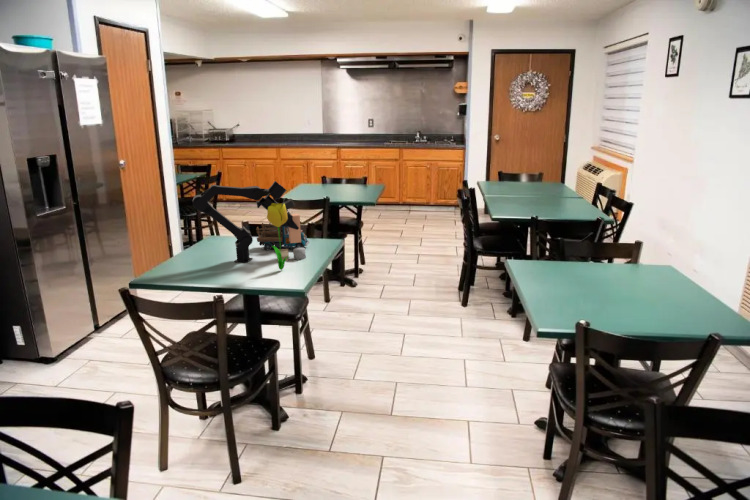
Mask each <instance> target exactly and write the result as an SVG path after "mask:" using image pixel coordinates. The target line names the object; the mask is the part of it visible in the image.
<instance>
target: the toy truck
mask: <svg viewBox="0 0 750 500" xmlns="http://www.w3.org/2000/svg"><path fill="white" fill-rule="evenodd" d="M260 227H261V228H259V226H257V227H256V229H255V230H256V234H257V235H258V236H257V237H256V242H257V243H258V245H259V247H260V246H261V247H262V246H263V247H264V250H266V251H270V250H271V249H272V248H273V247H272V246H275V247H277V248H280V244H281V248H291V247H295V248H305V247H307V246H308V245H309V244H310V240H309V239H307V235H306V234H305V232H303V229H301V242H299V243H290V241H289V228H288V227H287V226H283V225H281V226H280V227H279V232H280V240H279V232H278V227H276V226H274V225H273V224H271V223H270V222H269V223H268V224H264V223H263V222H262V223H261V225H260Z"/></svg>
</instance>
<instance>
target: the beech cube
mask: <svg viewBox="0 0 750 500" xmlns="http://www.w3.org/2000/svg"><path fill="white" fill-rule="evenodd" d="M278 249H279V251H280V248H278ZM280 254H281V255H282V260H284V259H285V258H286V257H287V256H288V257H287V258H286V260H285V262H286V261H287V262H288V261H289V260H290V259H289V258H290V255H289V248H281V253H280Z"/></svg>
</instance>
